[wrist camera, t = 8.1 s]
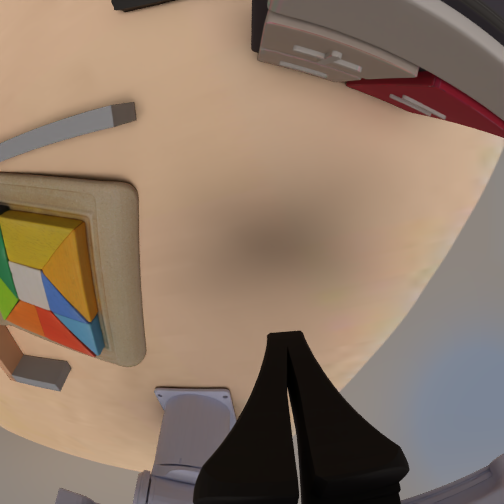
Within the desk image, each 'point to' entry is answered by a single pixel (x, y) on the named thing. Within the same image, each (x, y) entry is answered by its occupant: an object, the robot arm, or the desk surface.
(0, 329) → the bay
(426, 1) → the grey and red box
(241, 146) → the desk surface
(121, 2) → the dark sector wedge
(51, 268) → the wooden puzzle
